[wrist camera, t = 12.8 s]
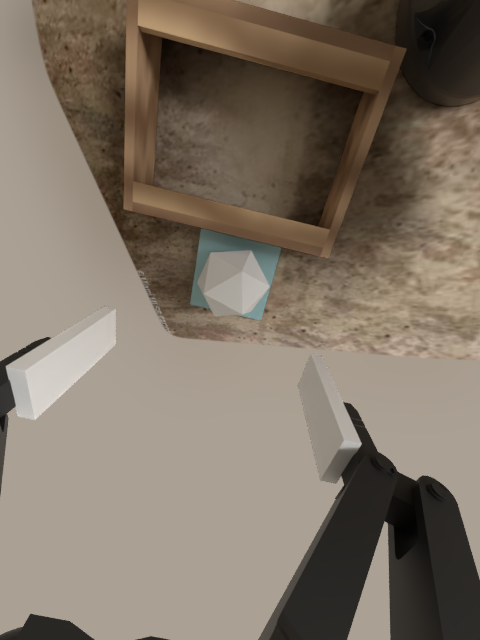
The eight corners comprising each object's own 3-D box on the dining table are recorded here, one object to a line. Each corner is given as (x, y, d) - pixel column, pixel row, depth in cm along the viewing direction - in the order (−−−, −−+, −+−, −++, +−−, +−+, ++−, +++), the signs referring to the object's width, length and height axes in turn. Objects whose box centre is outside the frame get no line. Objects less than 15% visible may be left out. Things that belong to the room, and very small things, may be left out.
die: (194, 283, 35) (206, 338, 30) (193, 232, 28) (209, 293, 23) (246, 278, 37) (266, 329, 32) (257, 230, 30) (285, 285, 25)
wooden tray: (153, 20, 24) (126, -30, 19) (376, 81, 25) (406, 48, 20) (144, 209, 32) (123, 209, 27) (317, 251, 33) (328, 258, 28)
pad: (202, 227, 32) (200, 228, 31) (280, 246, 33) (281, 247, 32) (191, 302, 37) (190, 304, 36) (260, 317, 37) (260, 320, 36)
